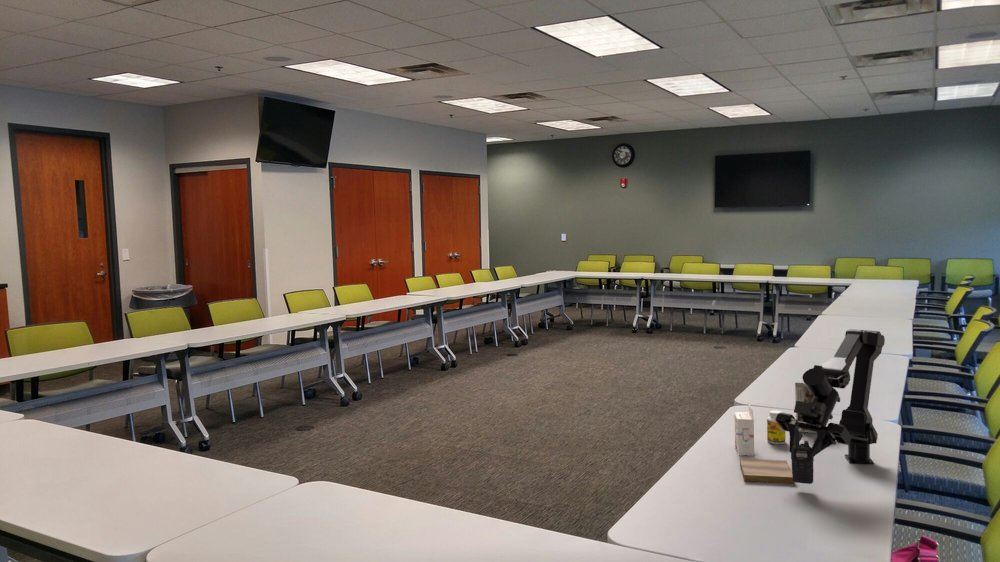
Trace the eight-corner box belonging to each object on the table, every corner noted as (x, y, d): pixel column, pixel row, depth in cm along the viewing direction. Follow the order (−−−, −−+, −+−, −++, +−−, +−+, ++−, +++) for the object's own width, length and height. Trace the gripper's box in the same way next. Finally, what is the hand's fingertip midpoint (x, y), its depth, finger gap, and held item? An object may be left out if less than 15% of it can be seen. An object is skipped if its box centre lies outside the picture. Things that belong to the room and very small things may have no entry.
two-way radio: (791, 483, 179) (789, 427, 178) (792, 477, 183) (790, 423, 182) (814, 485, 176) (812, 429, 175) (814, 479, 180) (813, 424, 179)
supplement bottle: (763, 441, 222) (763, 410, 221) (776, 438, 224) (775, 408, 223) (776, 445, 216) (776, 414, 216) (789, 443, 219) (789, 412, 218)
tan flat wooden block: (739, 465, 200) (739, 458, 200) (786, 467, 197) (786, 460, 197) (744, 482, 187) (744, 474, 187) (794, 484, 184) (794, 477, 183)
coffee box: (823, 428, 233) (823, 382, 232) (826, 433, 227) (825, 386, 226) (795, 427, 236) (794, 381, 235) (796, 432, 230) (796, 386, 229)
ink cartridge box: (734, 447, 217) (733, 402, 216) (750, 447, 216) (749, 402, 215) (738, 455, 209) (737, 409, 208) (754, 456, 208) (754, 409, 207)
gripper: (778, 383, 187) (755, 430, 182) (844, 395, 172) (822, 446, 167) (794, 406, 193) (773, 452, 187) (860, 418, 177) (839, 469, 172)
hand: (800, 454), depth 178 cm, fingers closed on two-way radio, 5 cm apart
